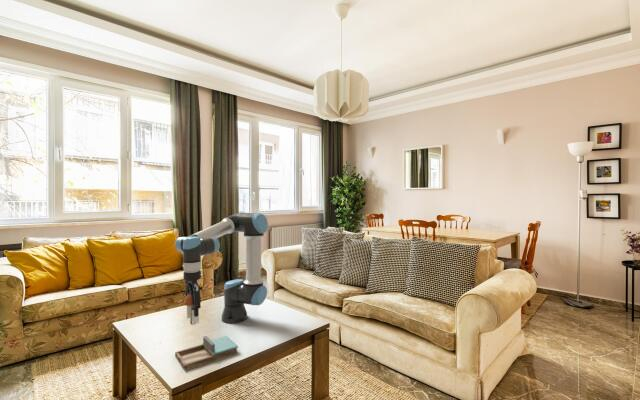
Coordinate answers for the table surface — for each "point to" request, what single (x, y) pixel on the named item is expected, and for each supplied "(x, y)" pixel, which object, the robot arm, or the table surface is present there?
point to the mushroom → (189, 304)
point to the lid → (219, 344)
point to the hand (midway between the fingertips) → (192, 320)
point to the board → (199, 356)
